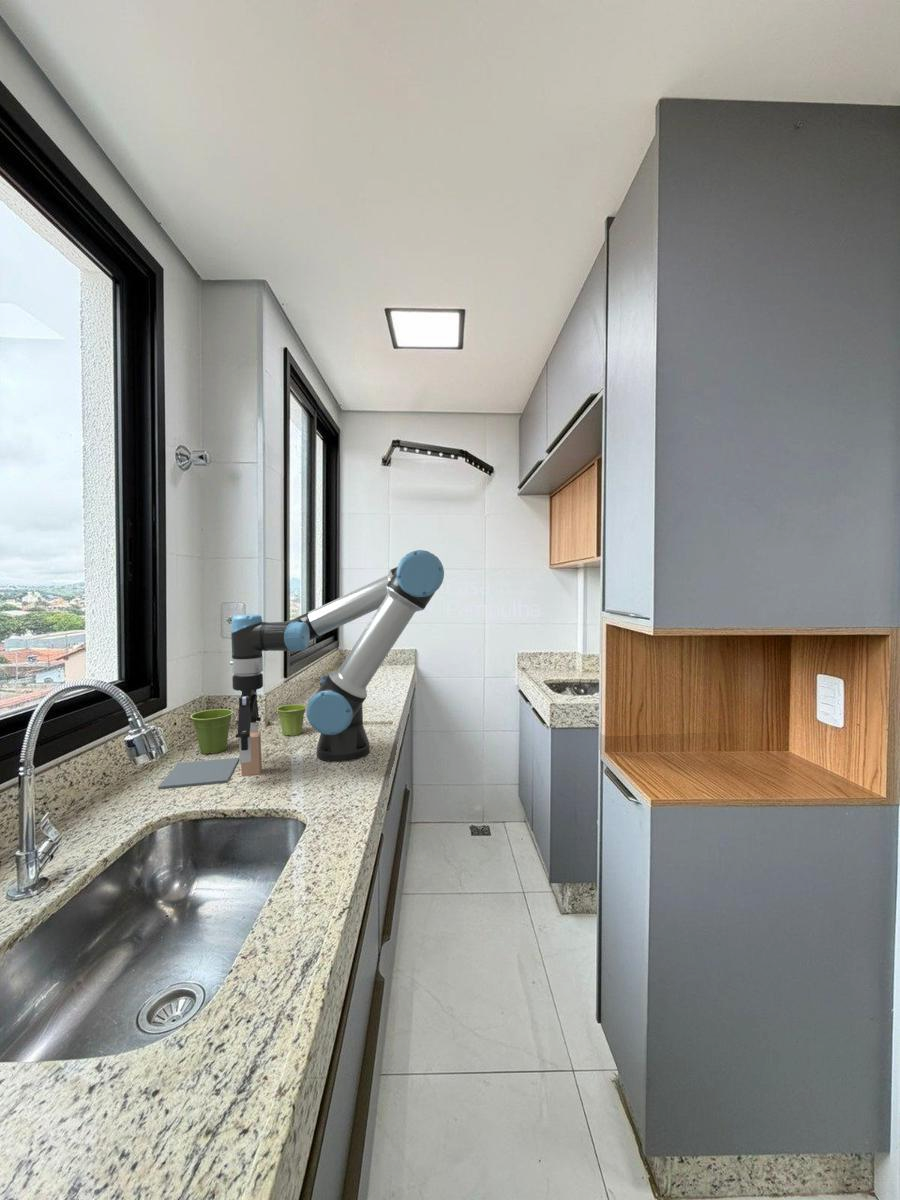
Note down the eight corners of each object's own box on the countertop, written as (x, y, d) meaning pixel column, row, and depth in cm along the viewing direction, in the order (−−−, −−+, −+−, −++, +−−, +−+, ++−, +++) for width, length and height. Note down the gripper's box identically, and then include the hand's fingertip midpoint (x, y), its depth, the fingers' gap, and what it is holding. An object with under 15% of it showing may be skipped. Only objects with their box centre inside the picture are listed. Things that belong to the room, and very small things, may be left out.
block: (261, 768, 148) (260, 732, 147) (259, 774, 143) (258, 736, 143) (244, 770, 147) (242, 733, 146) (241, 776, 142) (239, 738, 142)
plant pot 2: (299, 728, 187) (298, 702, 187) (312, 733, 180) (311, 707, 180) (273, 733, 181) (272, 707, 181) (284, 739, 174) (283, 712, 174)
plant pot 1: (182, 756, 160) (181, 718, 159) (207, 744, 171) (206, 708, 171) (219, 758, 157) (218, 719, 157) (242, 745, 169) (241, 709, 169)
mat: (239, 759, 156) (239, 757, 155) (227, 782, 138) (227, 780, 138) (178, 765, 152) (178, 762, 152) (158, 789, 135) (158, 786, 135)
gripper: (240, 666, 155) (241, 740, 156) (223, 683, 131) (225, 770, 132) (268, 665, 157) (269, 739, 158) (256, 681, 132) (258, 768, 133)
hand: (249, 753), depth 145 cm, fingers open, 13 cm apart
